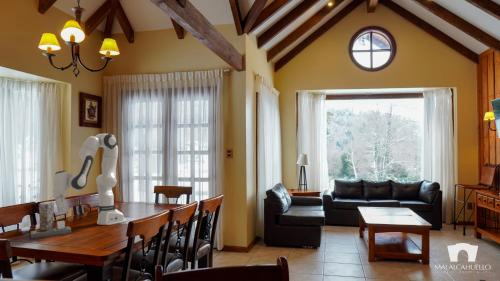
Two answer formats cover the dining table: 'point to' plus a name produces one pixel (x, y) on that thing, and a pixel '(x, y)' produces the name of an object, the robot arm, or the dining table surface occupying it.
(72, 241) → the dining table surface
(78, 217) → the dining table surface
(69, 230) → the grey flat slab
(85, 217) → the dining table surface
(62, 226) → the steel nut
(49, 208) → the stone block
